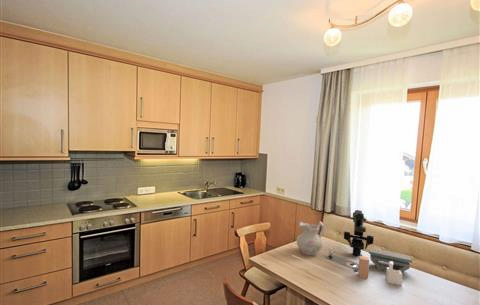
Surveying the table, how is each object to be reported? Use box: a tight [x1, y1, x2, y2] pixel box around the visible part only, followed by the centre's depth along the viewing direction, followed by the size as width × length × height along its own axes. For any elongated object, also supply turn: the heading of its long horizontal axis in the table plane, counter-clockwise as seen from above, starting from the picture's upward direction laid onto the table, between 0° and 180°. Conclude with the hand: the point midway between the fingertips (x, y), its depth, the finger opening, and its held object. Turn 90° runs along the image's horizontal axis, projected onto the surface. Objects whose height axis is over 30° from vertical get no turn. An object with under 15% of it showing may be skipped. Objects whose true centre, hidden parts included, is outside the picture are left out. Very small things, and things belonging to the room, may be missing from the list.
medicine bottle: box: [385, 261, 403, 286], centre depth 154 cm, size 7×7×12 cm
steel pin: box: [328, 248, 334, 257], centre depth 184 cm, size 2×2×6 cm
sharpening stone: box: [368, 247, 413, 274], centre depth 170 cm, size 25×8×11 cm, turn 63°
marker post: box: [357, 255, 370, 280], centre depth 159 cm, size 5×5×12 cm
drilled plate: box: [325, 254, 359, 273], centre depth 176 cm, size 11×23×1 cm, turn 42°
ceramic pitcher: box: [296, 220, 325, 256], centre depth 191 cm, size 22×20×25 cm
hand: (358, 247), depth 167 cm, fingers open, 9 cm apart
